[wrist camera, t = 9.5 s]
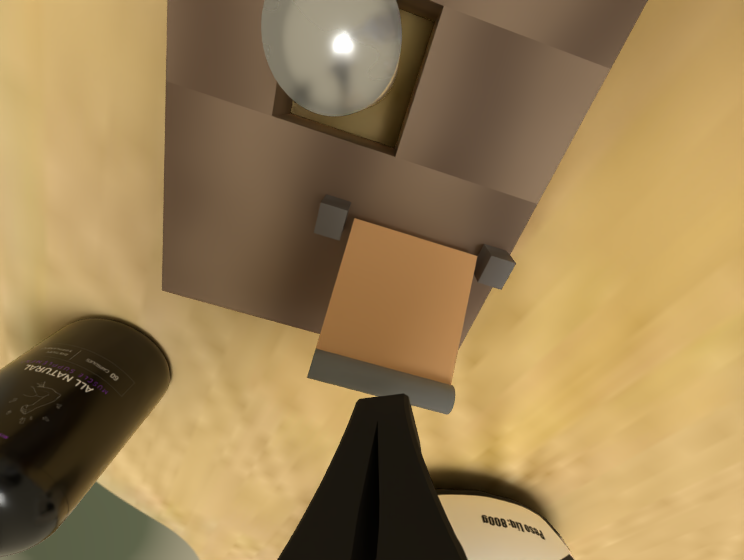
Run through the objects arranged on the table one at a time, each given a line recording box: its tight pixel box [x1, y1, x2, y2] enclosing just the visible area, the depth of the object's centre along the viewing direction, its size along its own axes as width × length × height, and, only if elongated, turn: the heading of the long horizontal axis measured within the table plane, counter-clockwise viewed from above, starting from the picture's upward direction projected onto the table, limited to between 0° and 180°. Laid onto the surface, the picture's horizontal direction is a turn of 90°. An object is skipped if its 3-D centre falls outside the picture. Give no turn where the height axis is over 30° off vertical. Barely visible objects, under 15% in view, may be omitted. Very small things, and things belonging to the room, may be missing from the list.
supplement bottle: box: [0, 318, 170, 557], centre depth 16 cm, size 7×7×12 cm
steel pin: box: [261, 0, 402, 116], centre depth 10 cm, size 3×3×7 cm
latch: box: [307, 218, 477, 414], centre depth 13 cm, size 5×6×1 cm
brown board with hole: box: [162, 0, 648, 350], centre depth 13 cm, size 14×16×4 cm
